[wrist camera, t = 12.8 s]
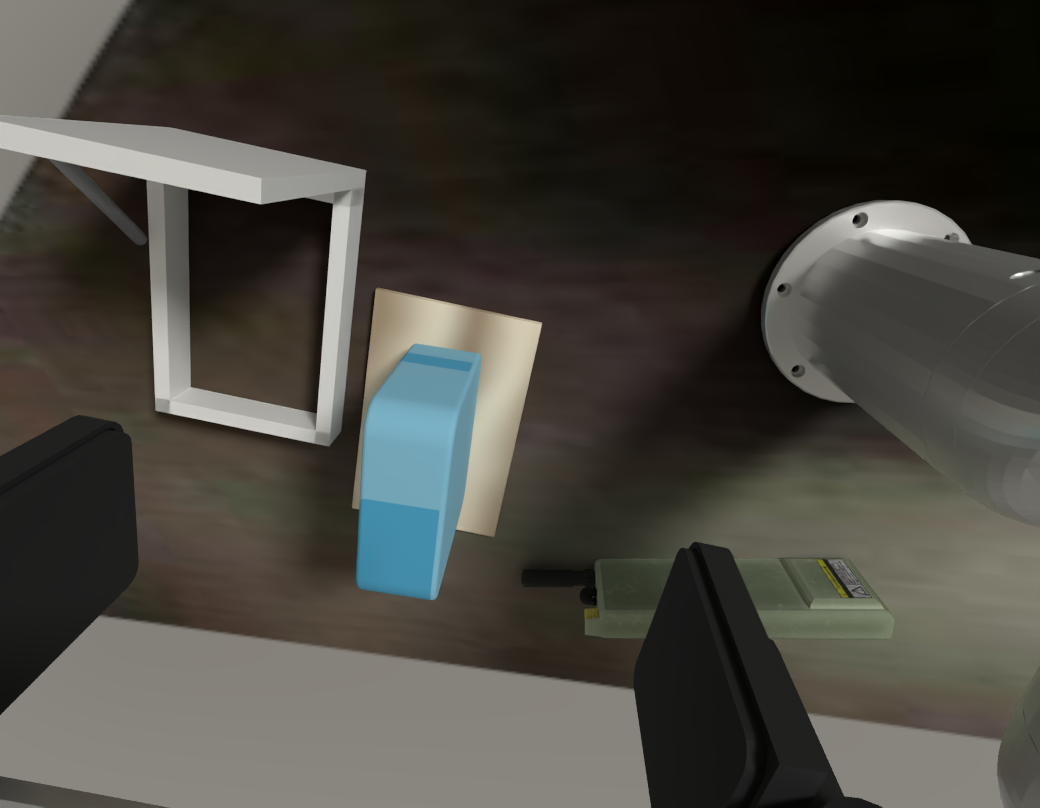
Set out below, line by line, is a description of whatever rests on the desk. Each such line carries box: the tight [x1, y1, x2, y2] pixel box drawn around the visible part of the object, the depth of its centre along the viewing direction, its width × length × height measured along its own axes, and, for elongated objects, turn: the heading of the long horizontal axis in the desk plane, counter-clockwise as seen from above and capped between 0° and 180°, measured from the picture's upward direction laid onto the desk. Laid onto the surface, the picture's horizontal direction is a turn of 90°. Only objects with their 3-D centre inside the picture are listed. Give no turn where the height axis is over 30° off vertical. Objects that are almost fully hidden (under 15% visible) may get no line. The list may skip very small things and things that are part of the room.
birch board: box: [352, 288, 542, 537], centre depth 42 cm, size 11×17×1 cm, turn 168°
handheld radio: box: [522, 558, 895, 640], centre depth 44 cm, size 7×3×25 cm
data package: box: [356, 343, 481, 600], centre depth 37 cm, size 12×4×12 cm, turn 172°
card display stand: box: [0, 115, 366, 446], centre depth 33 cm, size 13×18×14 cm
